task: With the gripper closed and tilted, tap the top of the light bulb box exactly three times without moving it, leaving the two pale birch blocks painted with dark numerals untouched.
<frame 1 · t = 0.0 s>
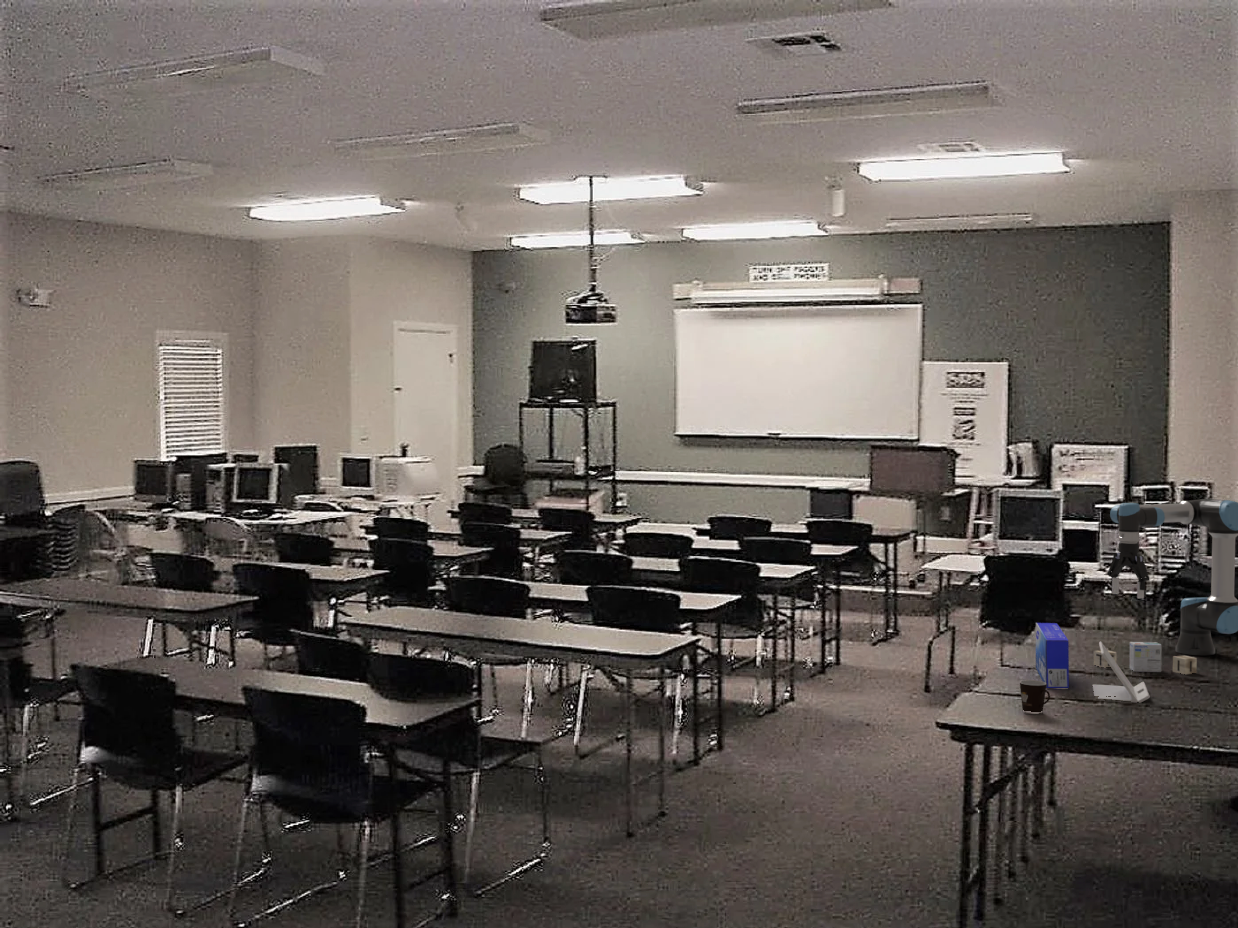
hand: (1127, 596, 530), 28 cm above the table, tool pointing down, fingers open, 13 cm apart
toner cartridge box: (1051, 679, 507), on the table
birch block one: (1184, 672, 520), on the table
birch block seven: (1104, 666, 532), on the table
light bulb box: (1145, 670, 524), on the table
coffee mug: (1033, 713, 449), on the table
tablet stand: (1120, 695, 480), on the table
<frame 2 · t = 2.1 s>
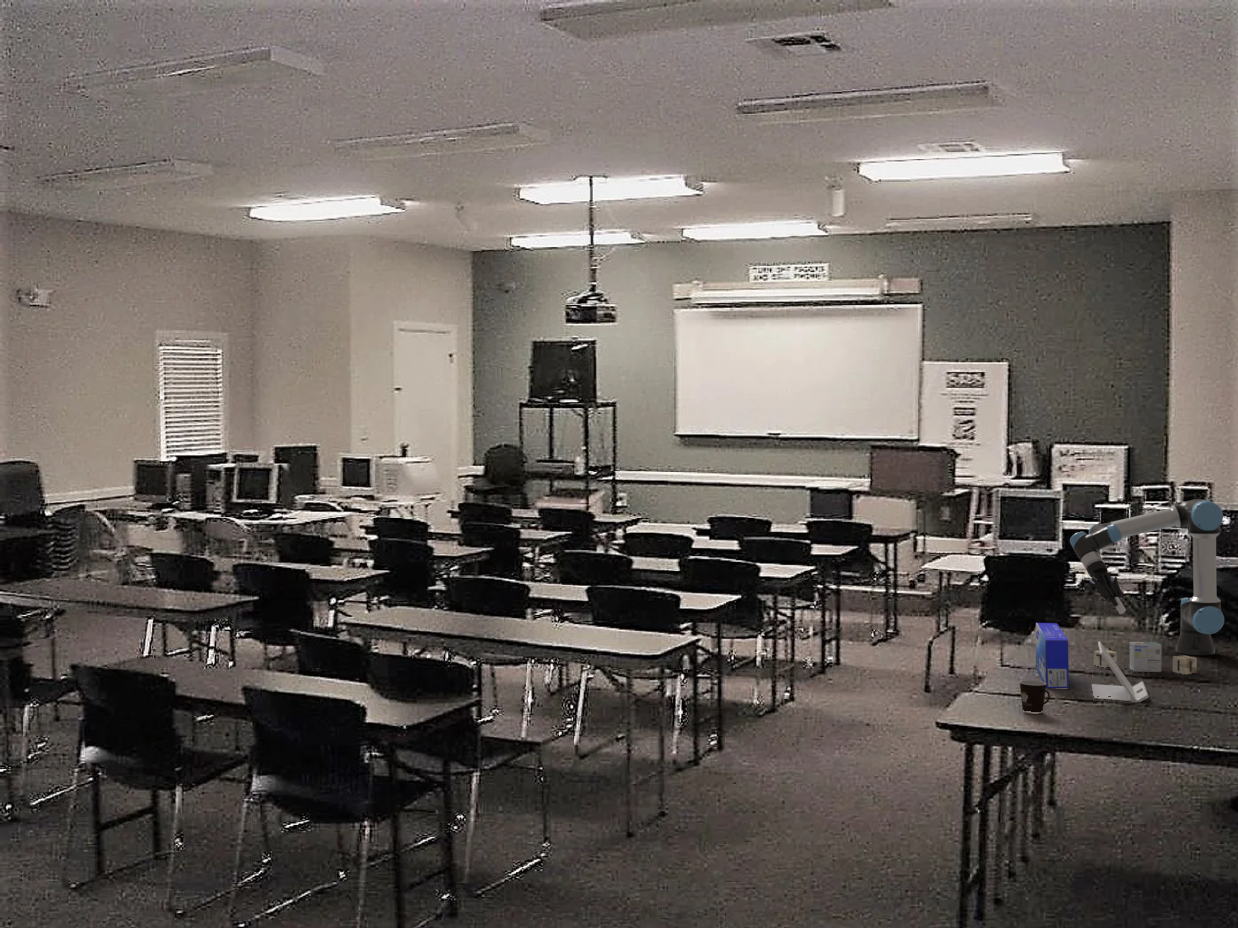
hand: (1122, 612, 534), 21 cm above the table, tool tilted 45°, fingers closed
nothing on the table moved.
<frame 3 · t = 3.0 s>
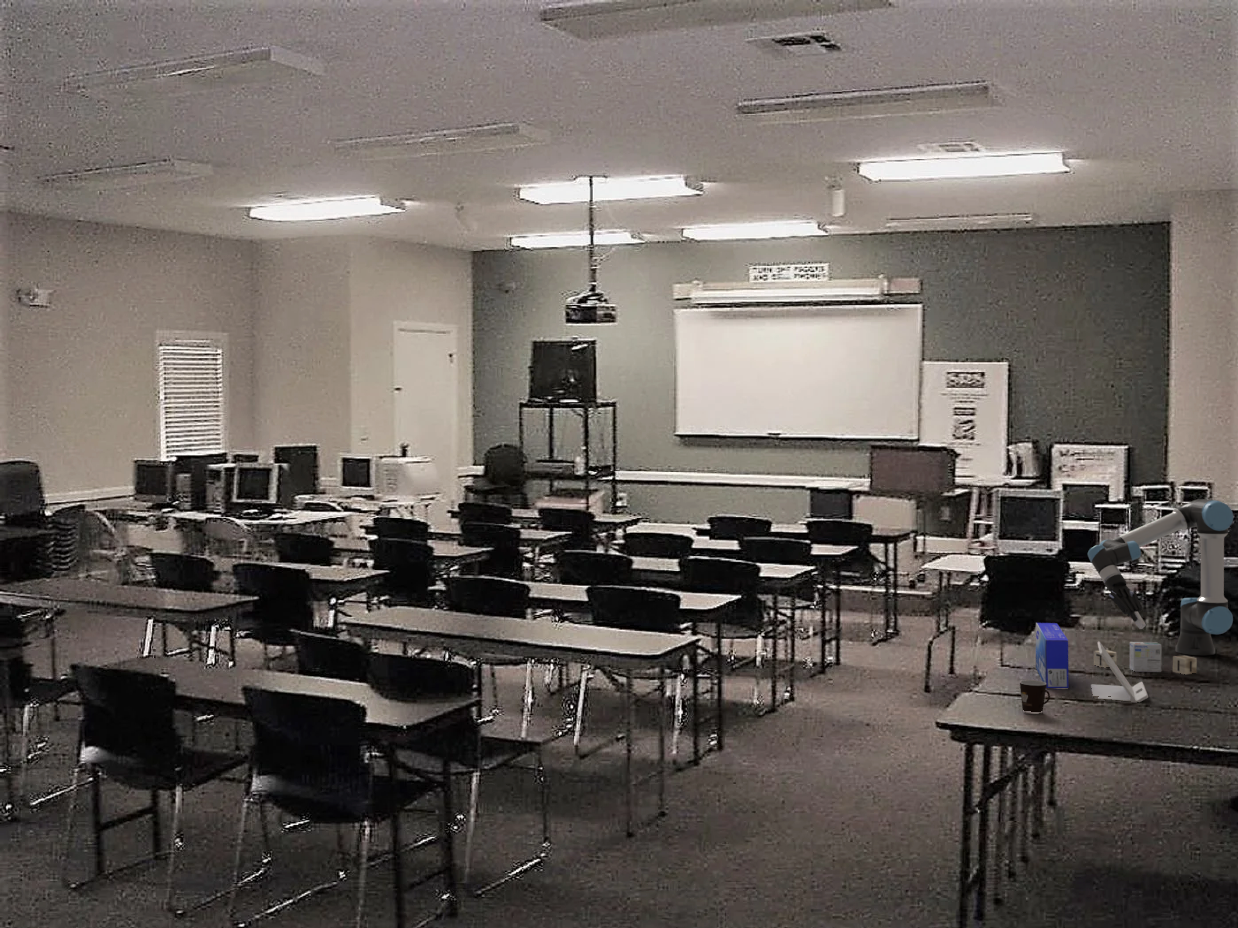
hand: (1142, 626, 524), 17 cm above the table, tool tilted 45°, fingers closed
nothing on the table moved.
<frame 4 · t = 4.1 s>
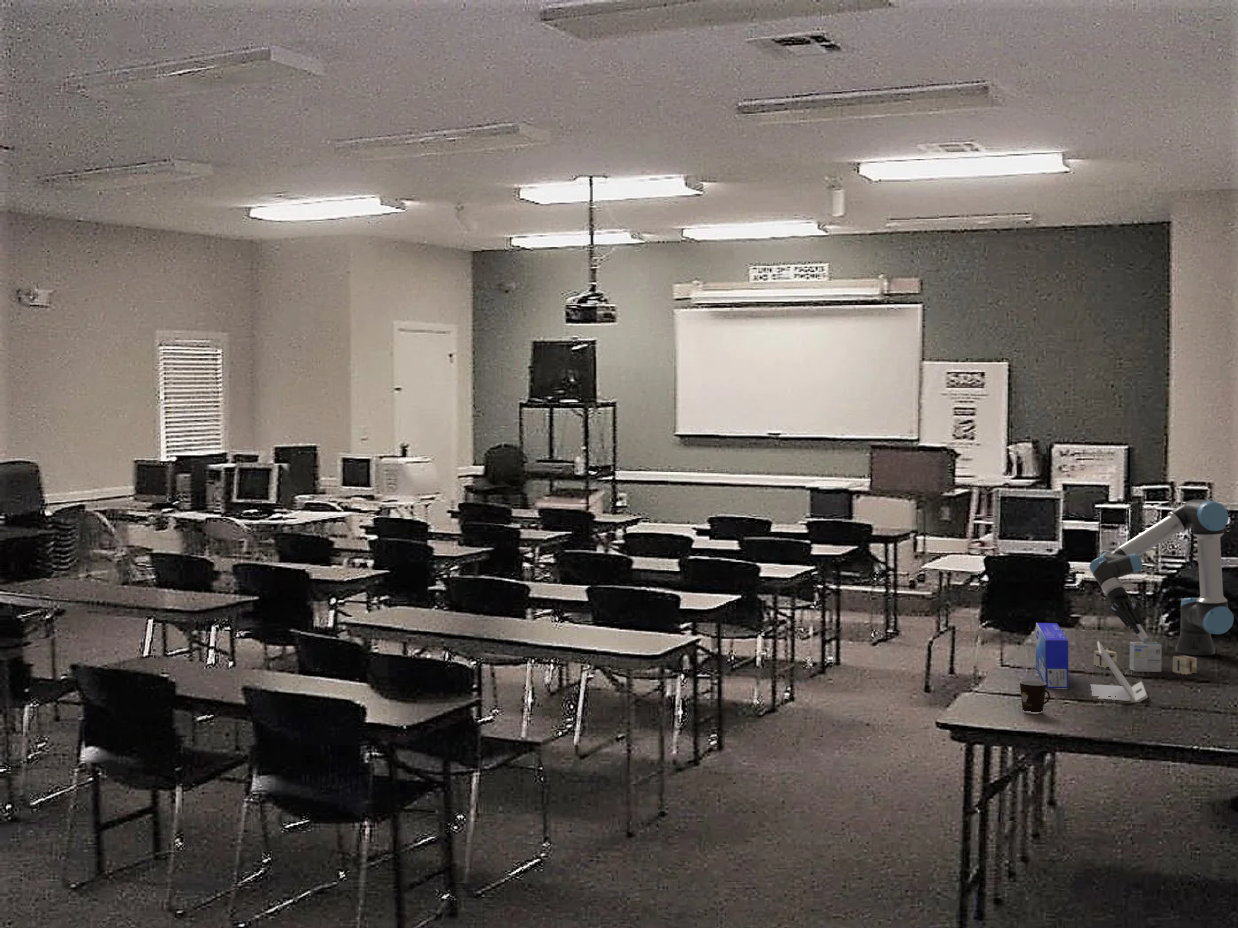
hand: (1145, 639, 524), 12 cm above the table, tool tilted 45°, fingers closed
light bulb box: (1145, 670, 524), on the table, touching gripper
everything else where it was.
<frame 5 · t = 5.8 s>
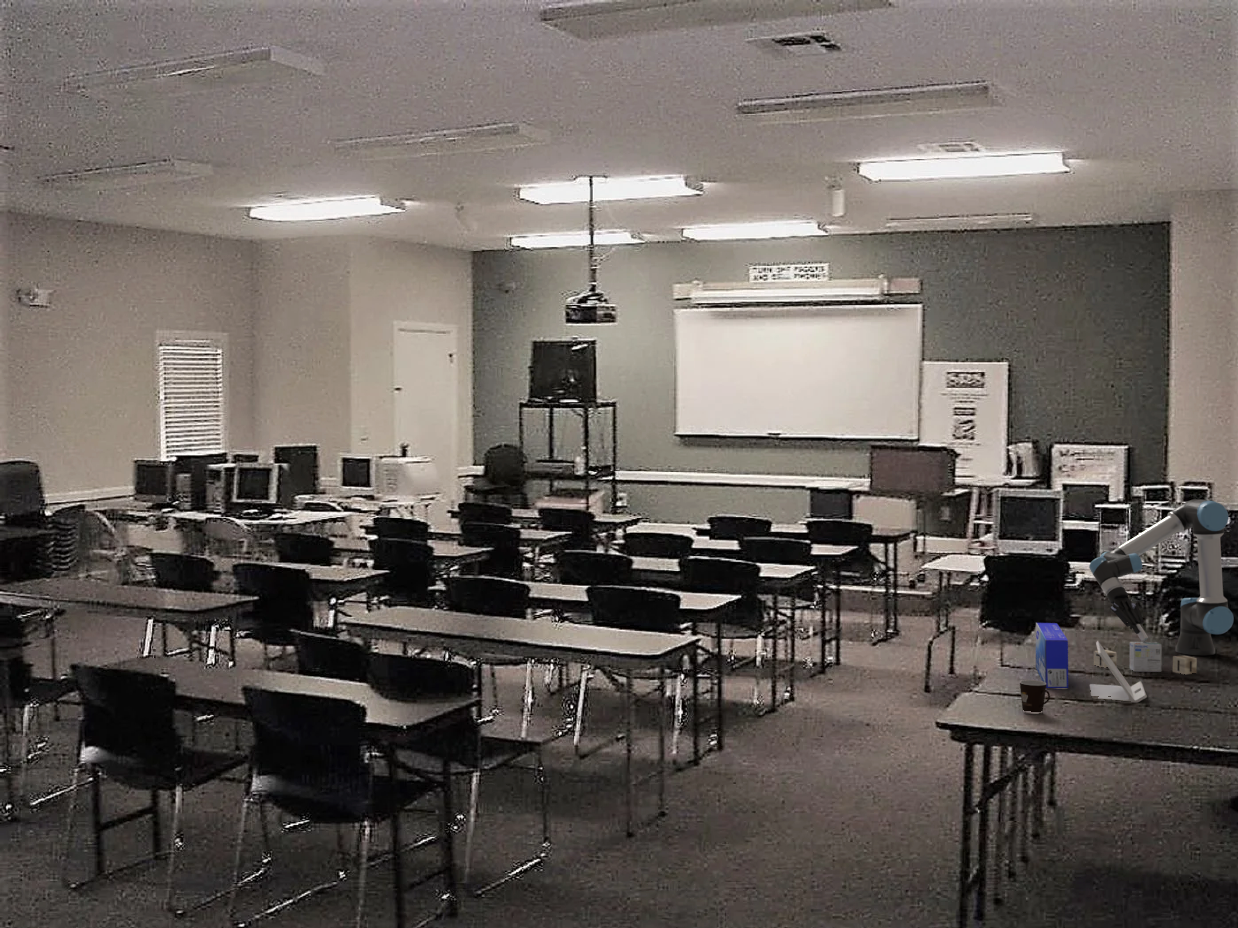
hand: (1145, 639, 524), 12 cm above the table, tool tilted 45°, fingers closed
nothing on the table moved.
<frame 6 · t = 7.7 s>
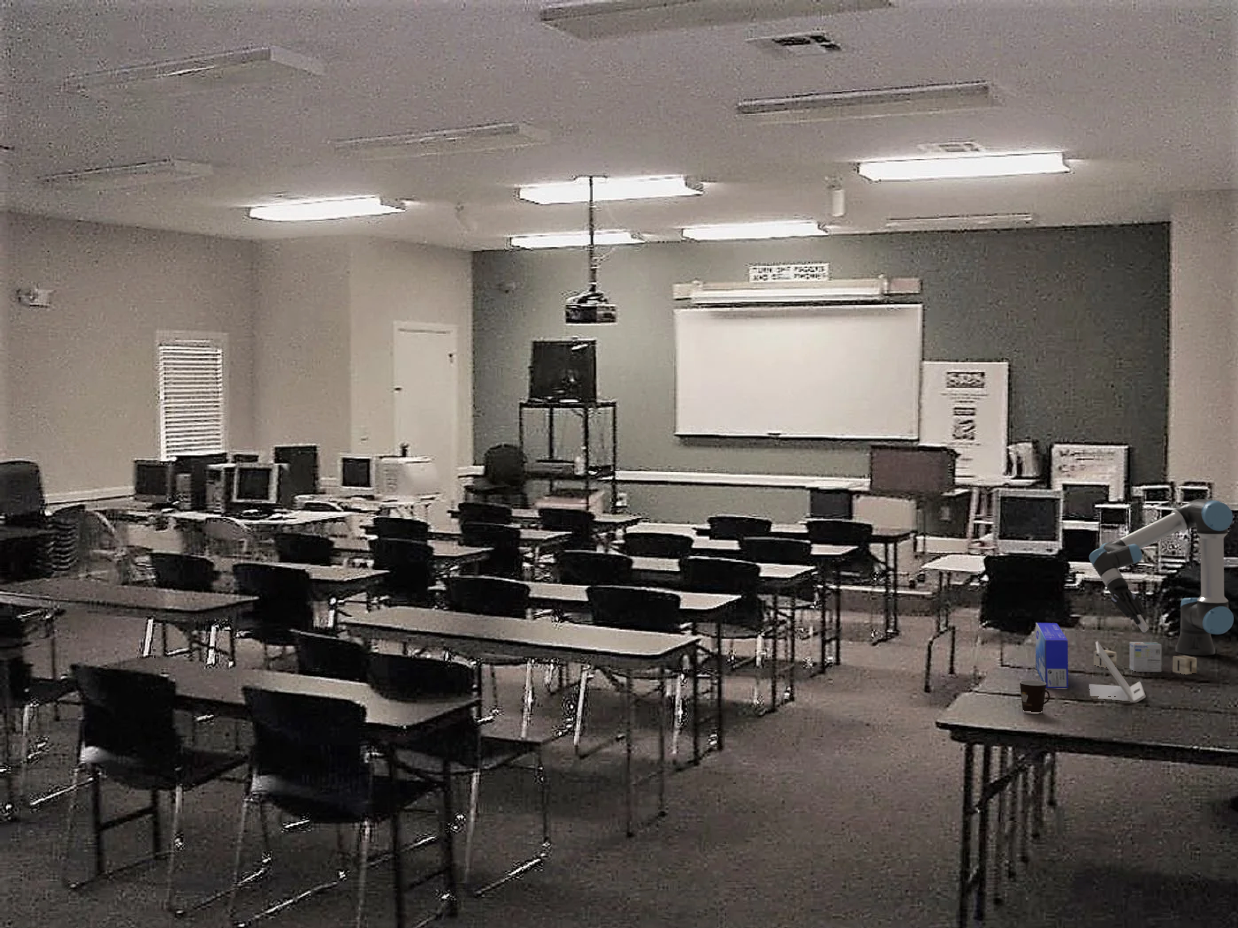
hand: (1145, 630, 524), 16 cm above the table, tool tilted 45°, fingers closed
light bulb box: (1145, 670, 524), on the table
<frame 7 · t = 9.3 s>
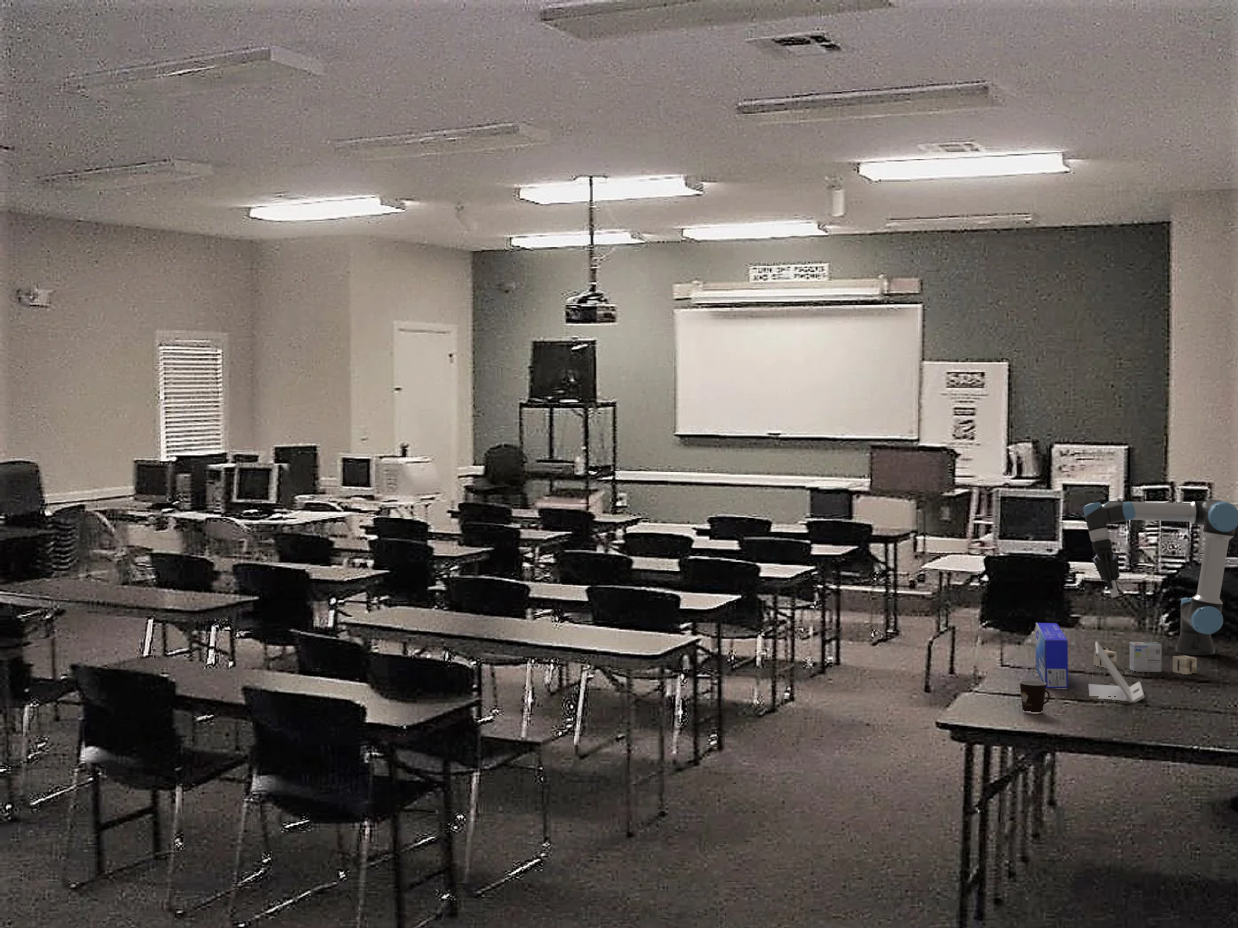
hand: (1115, 596, 547), 25 cm above the table, tool tilted 20°, fingers closed
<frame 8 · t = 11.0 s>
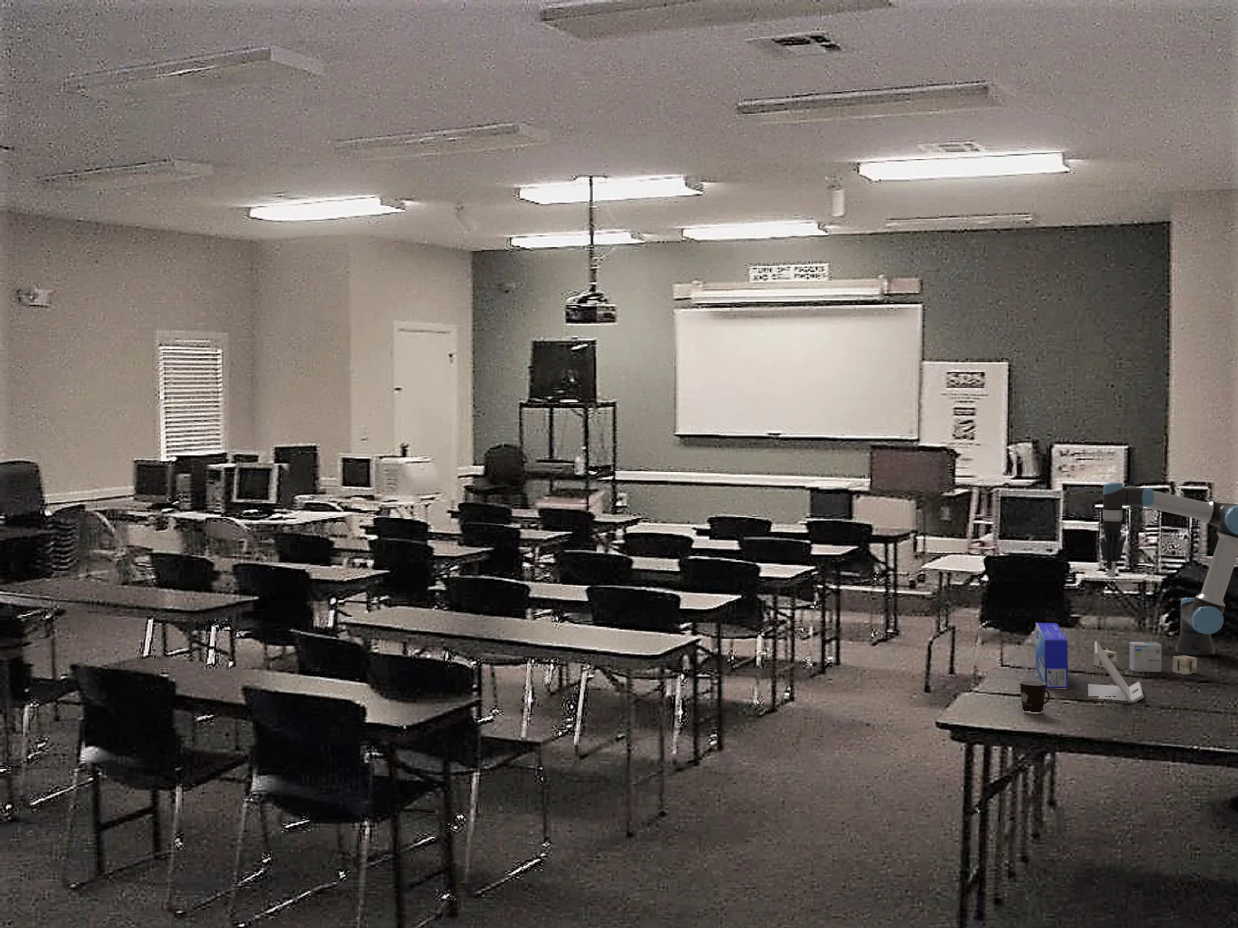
hand: (1111, 577, 554), 32 cm above the table, tool pointing down, fingers closed
at the end: light bulb box moved 0.3 cm from its start; light bulb box tilted 0°; birch block seven moved 0.1 cm from its start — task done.
